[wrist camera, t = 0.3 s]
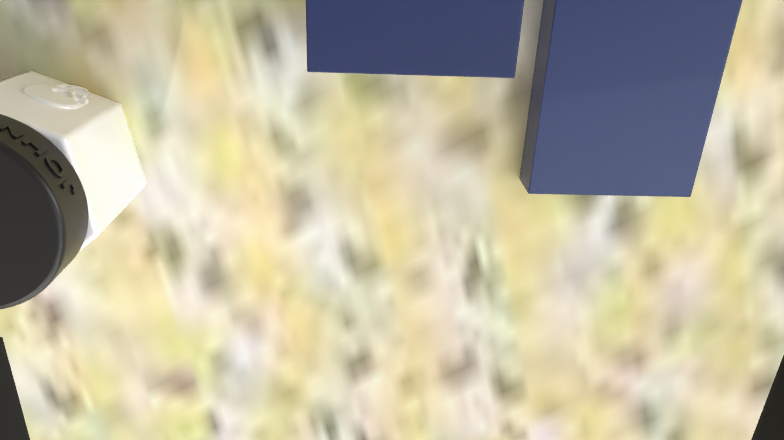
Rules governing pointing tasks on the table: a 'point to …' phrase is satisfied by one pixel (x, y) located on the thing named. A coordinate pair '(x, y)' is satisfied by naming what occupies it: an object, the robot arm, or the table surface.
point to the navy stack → (624, 95)
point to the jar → (57, 178)
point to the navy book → (414, 37)
